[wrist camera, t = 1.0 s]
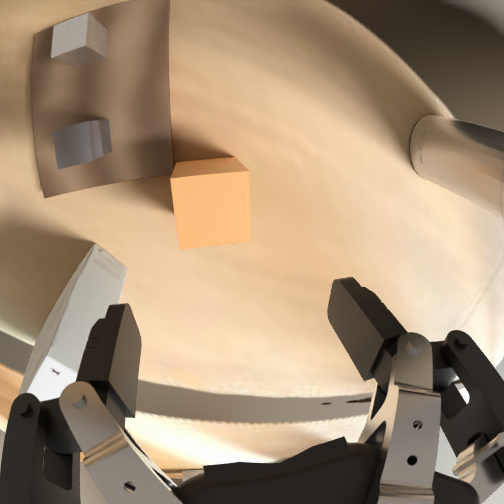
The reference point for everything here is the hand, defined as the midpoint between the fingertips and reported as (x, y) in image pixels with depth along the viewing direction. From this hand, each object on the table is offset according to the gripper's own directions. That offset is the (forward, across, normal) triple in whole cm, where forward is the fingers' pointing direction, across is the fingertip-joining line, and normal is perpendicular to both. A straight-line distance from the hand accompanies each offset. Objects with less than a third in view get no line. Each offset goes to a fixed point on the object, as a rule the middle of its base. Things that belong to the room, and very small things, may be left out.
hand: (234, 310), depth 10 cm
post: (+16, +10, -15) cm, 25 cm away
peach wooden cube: (+18, 0, 0) cm, 18 cm away
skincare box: (+18, +19, +13) cm, 29 cm away
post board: (+18, +10, -11) cm, 23 cm away
